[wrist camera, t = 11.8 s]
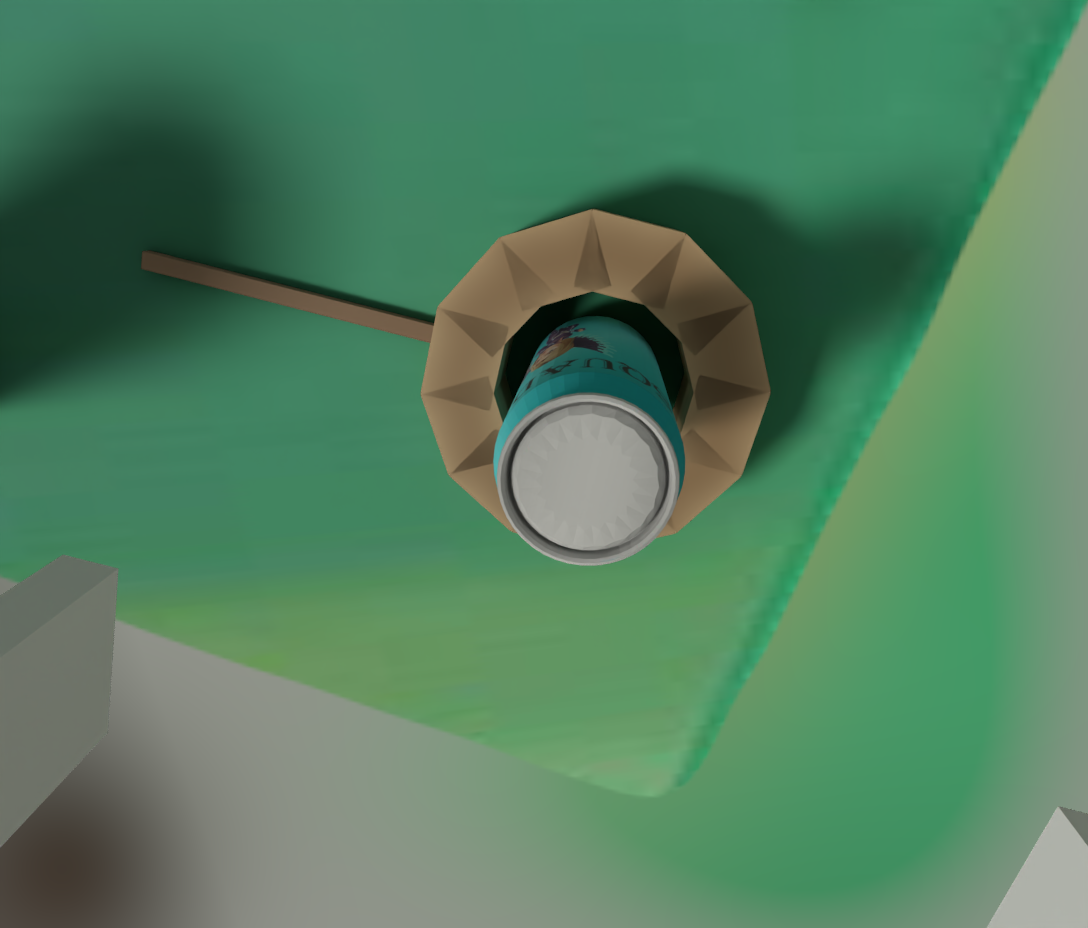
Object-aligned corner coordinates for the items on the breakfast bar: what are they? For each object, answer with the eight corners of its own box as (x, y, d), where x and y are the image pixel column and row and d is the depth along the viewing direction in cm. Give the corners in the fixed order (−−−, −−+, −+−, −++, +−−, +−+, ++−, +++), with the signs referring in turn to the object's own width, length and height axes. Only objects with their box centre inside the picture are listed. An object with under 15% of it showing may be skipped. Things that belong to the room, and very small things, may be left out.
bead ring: (478, 179, 34) (463, 176, 30) (791, 259, 34) (814, 266, 30) (419, 473, 38) (399, 503, 34) (695, 543, 38) (704, 581, 35)
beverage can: (600, 283, 35) (596, 339, 21) (683, 377, 36) (733, 493, 22) (507, 368, 36) (443, 474, 22) (589, 456, 37) (578, 611, 23)
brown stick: (149, 250, 36) (142, 251, 35) (445, 326, 36) (442, 327, 35) (148, 267, 36) (140, 268, 35) (441, 342, 36) (439, 345, 36)
